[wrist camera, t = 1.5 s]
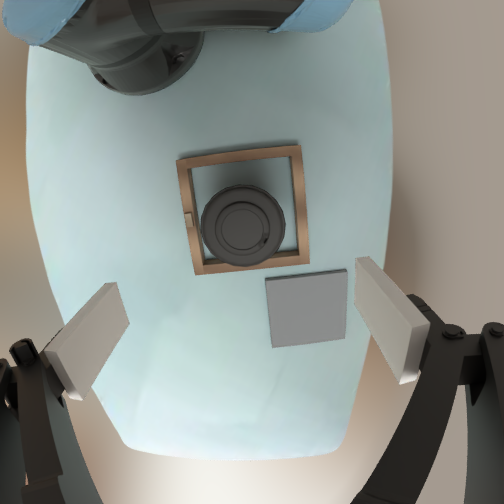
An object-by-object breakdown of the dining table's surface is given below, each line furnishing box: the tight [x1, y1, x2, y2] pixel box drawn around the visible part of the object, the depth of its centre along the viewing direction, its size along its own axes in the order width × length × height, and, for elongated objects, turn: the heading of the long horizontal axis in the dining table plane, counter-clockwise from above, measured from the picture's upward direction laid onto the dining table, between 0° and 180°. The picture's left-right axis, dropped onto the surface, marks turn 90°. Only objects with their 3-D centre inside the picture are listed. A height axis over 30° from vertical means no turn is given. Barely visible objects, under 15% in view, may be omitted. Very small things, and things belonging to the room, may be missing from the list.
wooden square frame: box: [176, 145, 310, 275], centre depth 35 cm, size 14×14×3 cm
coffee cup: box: [201, 185, 286, 267], centre depth 32 cm, size 8×8×10 cm
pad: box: [265, 270, 348, 348], centre depth 41 cm, size 11×11×1 cm
